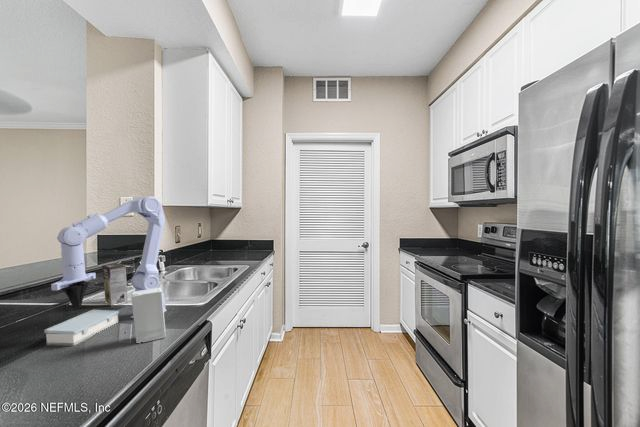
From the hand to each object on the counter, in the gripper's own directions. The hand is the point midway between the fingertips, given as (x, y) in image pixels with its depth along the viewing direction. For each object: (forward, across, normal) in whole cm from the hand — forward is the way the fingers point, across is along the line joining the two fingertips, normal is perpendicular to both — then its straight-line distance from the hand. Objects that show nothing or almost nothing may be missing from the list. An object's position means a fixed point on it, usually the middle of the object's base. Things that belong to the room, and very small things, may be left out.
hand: (77, 306), depth 105 cm
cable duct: (+9, -1, +1) cm, 9 cm away
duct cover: (+6, -1, +1) cm, 6 cm away
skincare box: (+10, +2, +26) cm, 28 cm away
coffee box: (+10, -32, -12) cm, 36 cm away
